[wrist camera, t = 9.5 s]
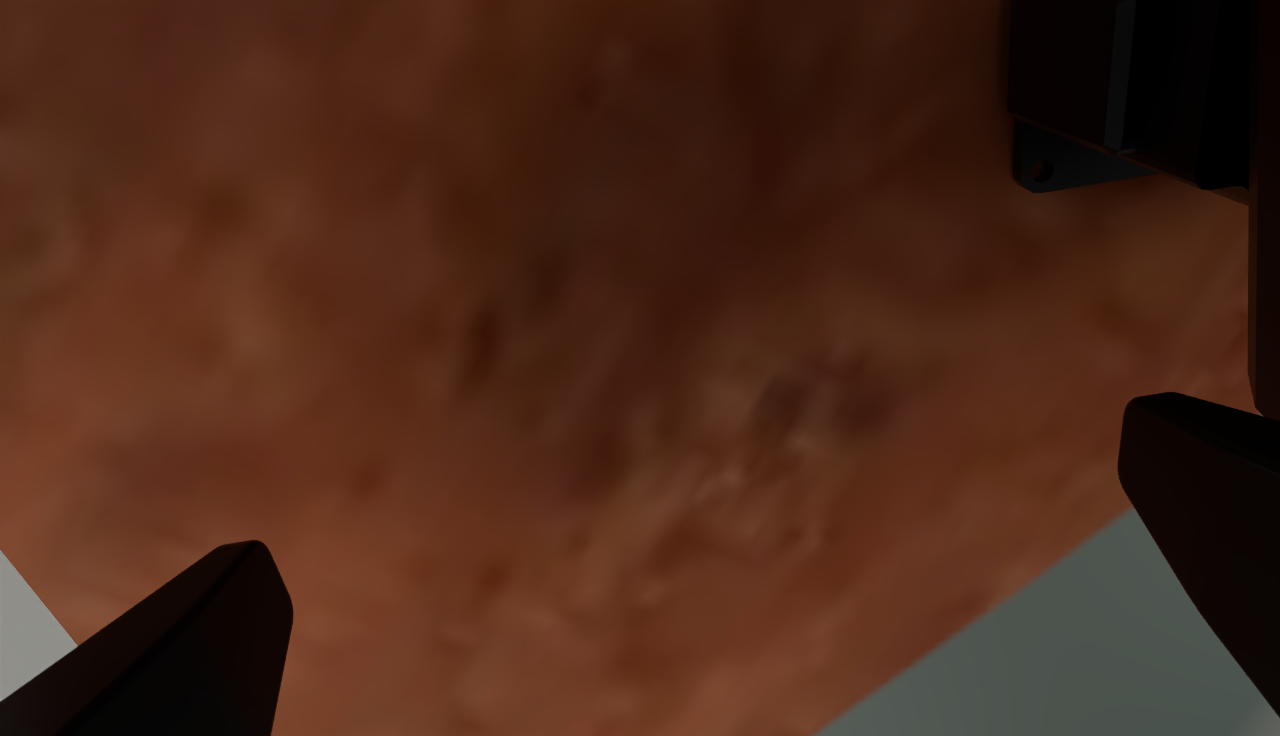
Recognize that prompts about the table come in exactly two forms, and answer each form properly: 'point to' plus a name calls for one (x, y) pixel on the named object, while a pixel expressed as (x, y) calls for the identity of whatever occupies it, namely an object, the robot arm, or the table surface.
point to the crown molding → (25, 632)
